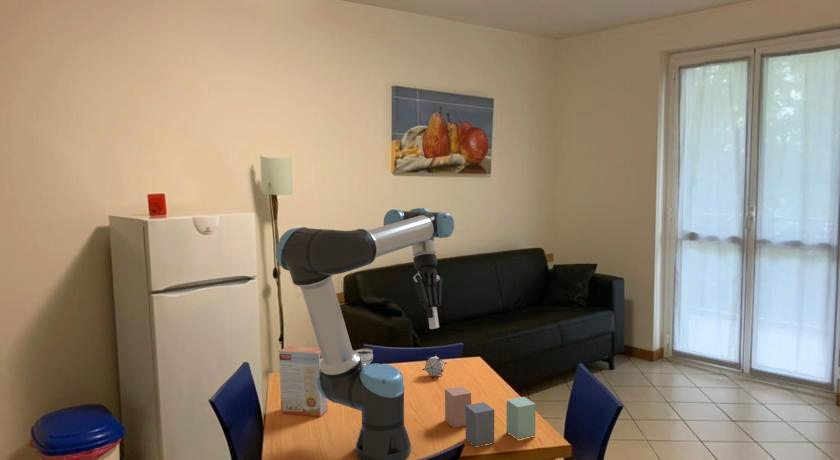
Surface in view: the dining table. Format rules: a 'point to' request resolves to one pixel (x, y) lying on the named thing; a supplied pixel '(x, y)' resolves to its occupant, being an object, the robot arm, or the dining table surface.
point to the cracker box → (301, 381)
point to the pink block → (456, 406)
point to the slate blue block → (479, 424)
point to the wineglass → (365, 356)
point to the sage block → (521, 417)
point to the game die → (434, 366)
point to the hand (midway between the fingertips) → (434, 328)
